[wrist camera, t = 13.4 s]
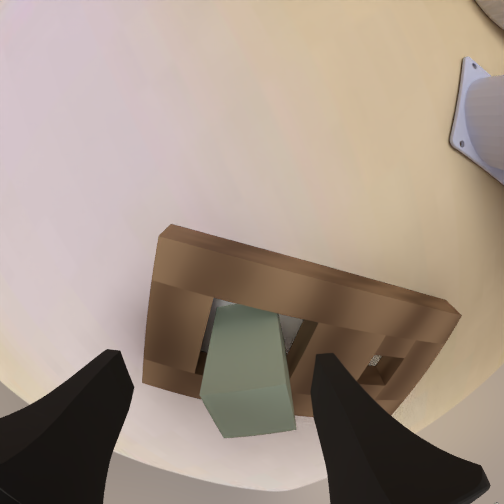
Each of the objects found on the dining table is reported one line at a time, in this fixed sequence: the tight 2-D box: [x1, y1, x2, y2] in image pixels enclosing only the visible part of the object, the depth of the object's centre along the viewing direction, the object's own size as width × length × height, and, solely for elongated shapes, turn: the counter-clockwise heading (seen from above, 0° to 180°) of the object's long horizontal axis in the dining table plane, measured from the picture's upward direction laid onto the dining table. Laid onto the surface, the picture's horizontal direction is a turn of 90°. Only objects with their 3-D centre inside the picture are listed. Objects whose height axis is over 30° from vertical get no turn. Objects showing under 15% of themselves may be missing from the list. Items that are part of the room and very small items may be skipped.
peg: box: [200, 304, 296, 438], centre depth 16 cm, size 4×4×8 cm
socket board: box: [142, 224, 462, 417], centre depth 19 cm, size 22×12×2 cm, turn 74°
